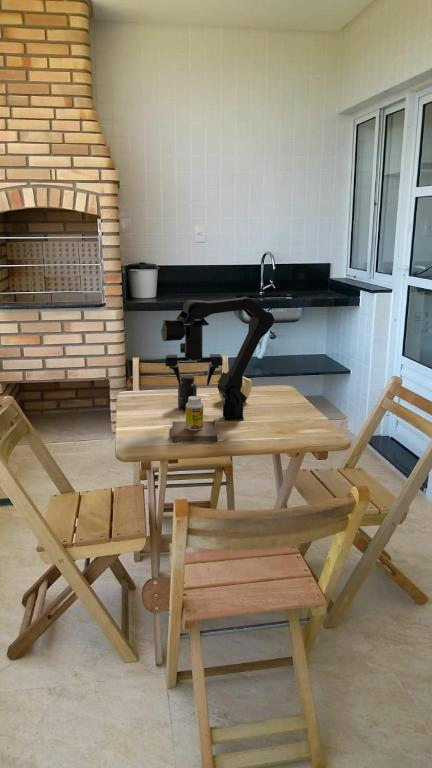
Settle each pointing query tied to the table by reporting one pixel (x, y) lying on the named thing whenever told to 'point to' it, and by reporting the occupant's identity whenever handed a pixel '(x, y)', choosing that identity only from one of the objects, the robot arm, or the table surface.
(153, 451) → the table surface
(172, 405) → the table surface
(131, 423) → the table surface
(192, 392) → the supplement bottle
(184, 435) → the walnut block
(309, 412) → the table surface
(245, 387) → the sculpture
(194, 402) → the supplement bottle
